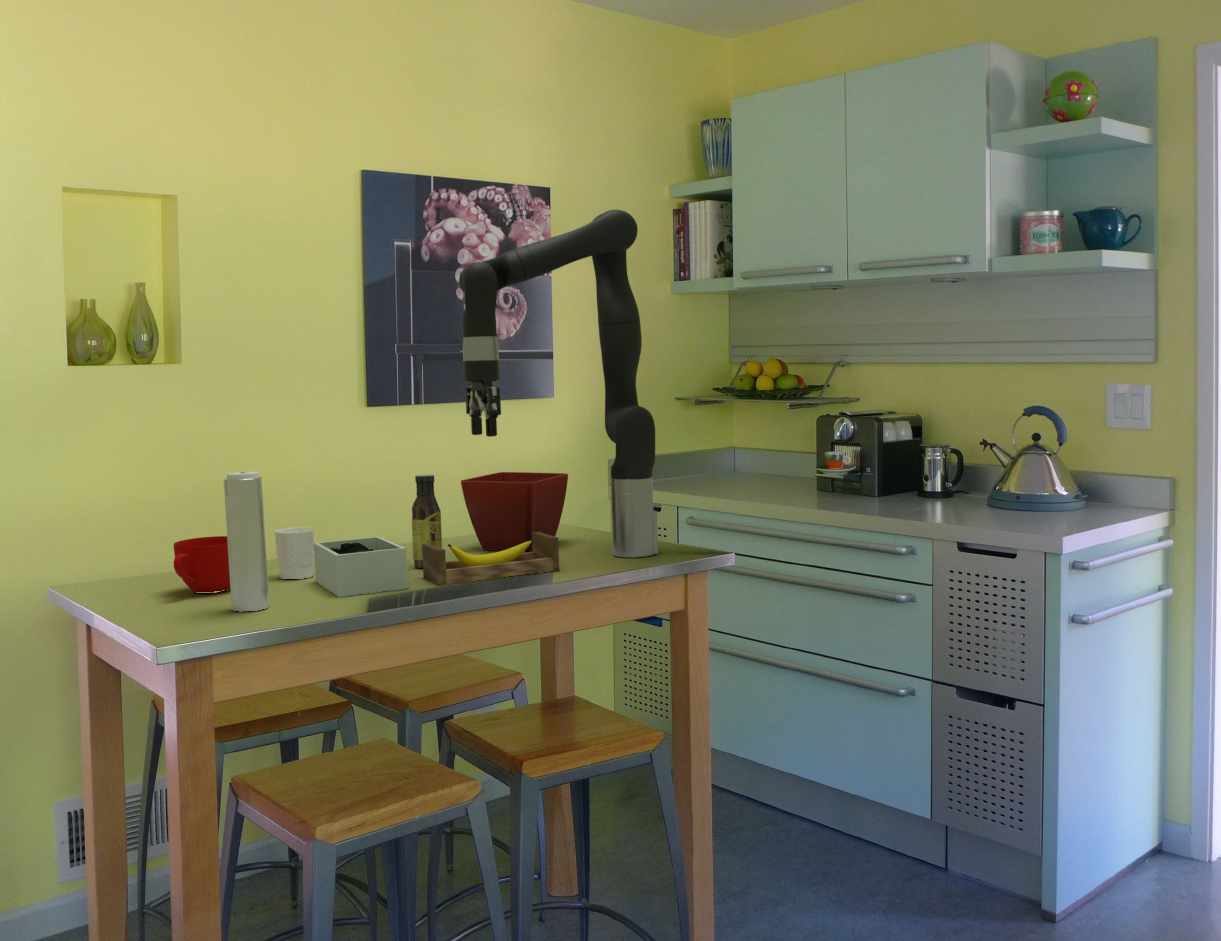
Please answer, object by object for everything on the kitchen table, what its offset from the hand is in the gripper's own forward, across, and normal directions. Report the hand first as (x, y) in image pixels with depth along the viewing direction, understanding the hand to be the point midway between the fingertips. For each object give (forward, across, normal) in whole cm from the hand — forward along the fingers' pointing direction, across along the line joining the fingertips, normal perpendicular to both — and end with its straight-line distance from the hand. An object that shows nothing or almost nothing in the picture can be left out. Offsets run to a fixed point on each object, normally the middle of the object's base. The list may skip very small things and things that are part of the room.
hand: (484, 435), depth 239 cm
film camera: (+28, -5, +28) cm, 41 cm away
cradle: (+28, -9, +3) cm, 30 cm away
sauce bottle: (+28, +8, +11) cm, 31 cm away
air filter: (+28, -14, +52) cm, 61 cm away
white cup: (+28, +13, +38) cm, 49 cm away
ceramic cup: (+28, +7, +57) cm, 64 cm away
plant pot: (+28, +20, -15) cm, 38 cm away
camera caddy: (+28, -4, +29) cm, 41 cm away
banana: (+27, -9, +3) cm, 29 cm away
